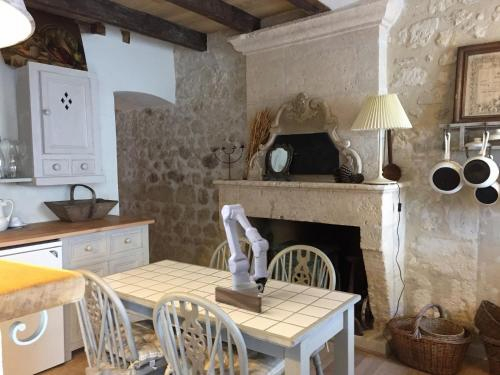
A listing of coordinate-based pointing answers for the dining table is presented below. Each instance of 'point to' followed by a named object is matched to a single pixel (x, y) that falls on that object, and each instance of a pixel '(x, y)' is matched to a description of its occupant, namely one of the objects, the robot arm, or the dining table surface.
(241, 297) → the wall board
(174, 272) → the dining table surface
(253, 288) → the teacup
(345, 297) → the dining table surface
